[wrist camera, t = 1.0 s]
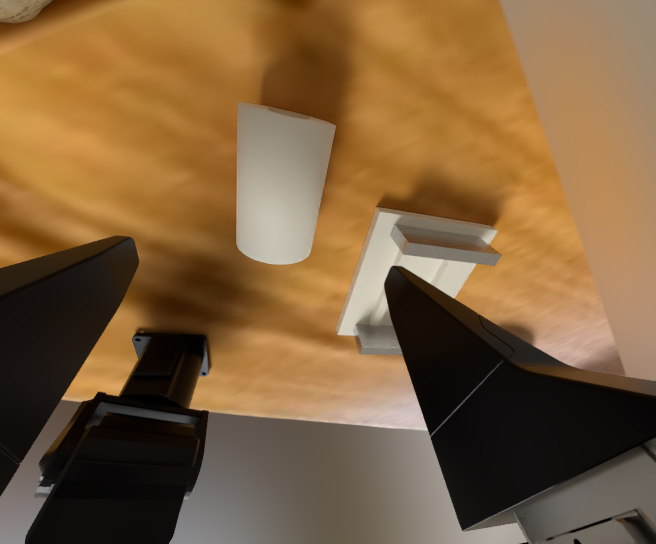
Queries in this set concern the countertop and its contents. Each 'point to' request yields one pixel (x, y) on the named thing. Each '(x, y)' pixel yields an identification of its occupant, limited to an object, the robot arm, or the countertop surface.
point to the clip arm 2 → (443, 245)
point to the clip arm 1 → (376, 339)
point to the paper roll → (279, 181)
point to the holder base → (382, 253)
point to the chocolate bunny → (20, 10)
